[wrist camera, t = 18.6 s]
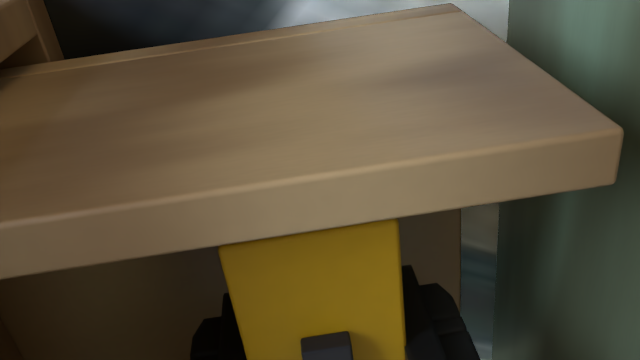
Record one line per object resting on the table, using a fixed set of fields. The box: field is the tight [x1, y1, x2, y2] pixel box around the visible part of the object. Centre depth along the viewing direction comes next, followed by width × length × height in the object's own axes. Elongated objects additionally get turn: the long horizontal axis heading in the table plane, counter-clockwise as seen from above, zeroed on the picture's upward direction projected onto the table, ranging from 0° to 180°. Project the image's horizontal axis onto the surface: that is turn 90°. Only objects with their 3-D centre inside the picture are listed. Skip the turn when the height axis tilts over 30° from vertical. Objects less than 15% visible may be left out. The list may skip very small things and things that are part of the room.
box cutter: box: [218, 218, 406, 360], centre depth 12 cm, size 8×3×3 cm, turn 7°
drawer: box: [0, 0, 640, 360], centre depth 12 cm, size 21×14×7 cm, turn 97°
